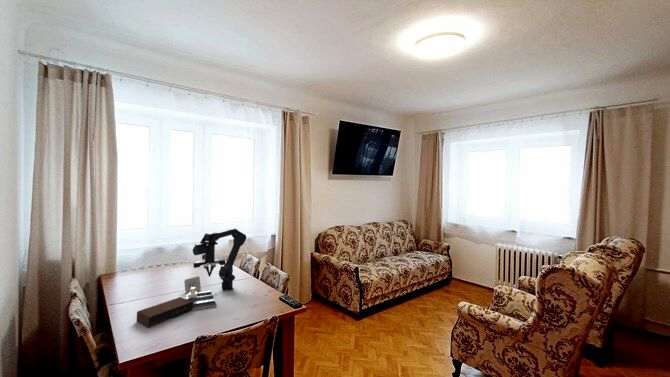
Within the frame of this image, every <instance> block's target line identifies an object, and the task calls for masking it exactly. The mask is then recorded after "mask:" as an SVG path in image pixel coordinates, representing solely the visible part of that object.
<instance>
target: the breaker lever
mask: <svg viewBox="0 0 670 377" xmlns="http://www.w3.org/2000/svg"><path fill="white" fill-rule="evenodd" d="M197 292H198V291H195V287H191V292H189V293H188V294H189V298H191V297H197Z"/></svg>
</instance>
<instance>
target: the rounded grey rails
mask: <svg viewBox="0 0 670 377" xmlns="http://www.w3.org/2000/svg"><path fill="white" fill-rule="evenodd" d="M216 307H217V303H216V302H215V303H213V304H206V305H200V306H193V309H191V312H193V311H199V310H205V309H211V308H216Z"/></svg>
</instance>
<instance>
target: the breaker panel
mask: <svg viewBox="0 0 670 377" xmlns="http://www.w3.org/2000/svg"><path fill="white" fill-rule="evenodd" d="M215 298H216V297H215V293H214V290H213V289H211V290H206V291H205V290H204V291H197V297H191V298H189V293H188V294H187V293H185V298H184V299H187V300H189V301H192V302H193V306H200V305H206V304H213V303H216V299H215Z"/></svg>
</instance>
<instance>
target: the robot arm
mask: <svg viewBox="0 0 670 377" xmlns="http://www.w3.org/2000/svg"><path fill="white" fill-rule="evenodd" d="M228 236H231V237H232V238H233V239H232V242H233V245H232V248H231V250H230V253H229V255H228V257H227V260H226V259H225V258H218V260H215V258H216V257H215V256H216V255H215V253H216V252H215V251H216V249H215V248H216V245H218V242H217V241H218V240H219V239H221V238H222V239H223V238H225V237H228ZM246 241H247V235H246V234H245V233H243V232H241V231H239V230H238V228H234V227H230V228H227V229H224V230H219V231H211V232H210V231H209V232H208V231H207V232H205V233H204V236H203V237H202V239H201V241H200V242H199V243H196V244H194V246H193V248H192V253H193V255H194V256H199V255H201V259H202V260H204V261H201V260H196V261H193V268H194V269H197V268H200V267H201V266H203V269H205V270H206V273H207V276H208V277H211V275H212V273H213V271H214V268H216V267H217V265H219V266H220V268H219V271H218V277H219V278H220V280H222V281H221V290H222V291H231V290H234V287H233V283H234V282H233V281H235V279H236V276H235V275H234V274H233V273H234V268H233V267H234V264H235V262H236V259H237V255H238V254H239V252H240V249H241V247H242V246H243V245H244V244H245V242H246ZM209 266H210V267H209Z"/></svg>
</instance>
